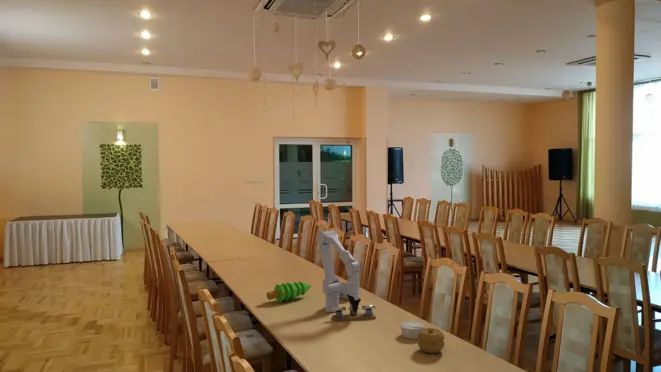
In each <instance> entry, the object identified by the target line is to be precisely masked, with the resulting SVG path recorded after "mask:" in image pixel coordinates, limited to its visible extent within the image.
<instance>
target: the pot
mask: <svg viewBox="0 0 661 372" xmlns="http://www.w3.org/2000/svg"><path fill="white" fill-rule="evenodd" d="M417 337H418V339H416V340H417V341H416V343H417V346H418V347H419V349H420V350H421V351H422V352H424V353H428V354H436V353H439V352H441V351H442V350H443V349H444V347H445V344H446V343H445V341H444V340H445V334H444V332H442V331H441V330H440V329H438V328H433V327H426V328H425V327H424V329H422V330H420V331H419V332H418V334H417Z"/></svg>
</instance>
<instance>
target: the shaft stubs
mask: <svg viewBox="0 0 661 372" xmlns="http://www.w3.org/2000/svg"><path fill="white" fill-rule="evenodd" d="M375 309H376V304H369V305H361V310H364V313H365V314H366V316H372V312H373V310H375ZM346 310H347V308H346V306H339V307H332V311H335V312H334V313H335V314H334V315H335V316H336V318H342V314H343V312H345V311H346Z"/></svg>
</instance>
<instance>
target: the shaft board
mask: <svg viewBox="0 0 661 372" xmlns="http://www.w3.org/2000/svg"><path fill="white" fill-rule="evenodd" d="M331 317H332V319H333V321H334V322H344V321H346V322H347V321H361V320H362V321H364V320H374V319H375V320H376V319H377V316H376V314H375V313H374V312H373V311H372V316H366V314H365V312H359V313H358V312H357V316H354V317H353V316H350V313H342V318H336V316H335V314H332V316H331Z"/></svg>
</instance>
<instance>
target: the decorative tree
mask: <svg viewBox="0 0 661 372" xmlns="http://www.w3.org/2000/svg"><path fill="white" fill-rule="evenodd" d="M312 287H313V285H311V284H308V283H305V282H302V281H298V282H295V281H294V282H293V283H292V282H286V283H283V282H282V283H281V284H277V283H276V285H275V286H274V288H273V289H274V290H271V291H267V293H265V295H266V298H267V300H269V301H271V300H274V299H275V300H276V301H278V303H279V302H280V303H279V304H281V303H282V302H287V301H293V300H294V299H296V297H300V295H301V296H304V295H305V294H306V293H307V292H308V291H309V289H311V288H312Z"/></svg>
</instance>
